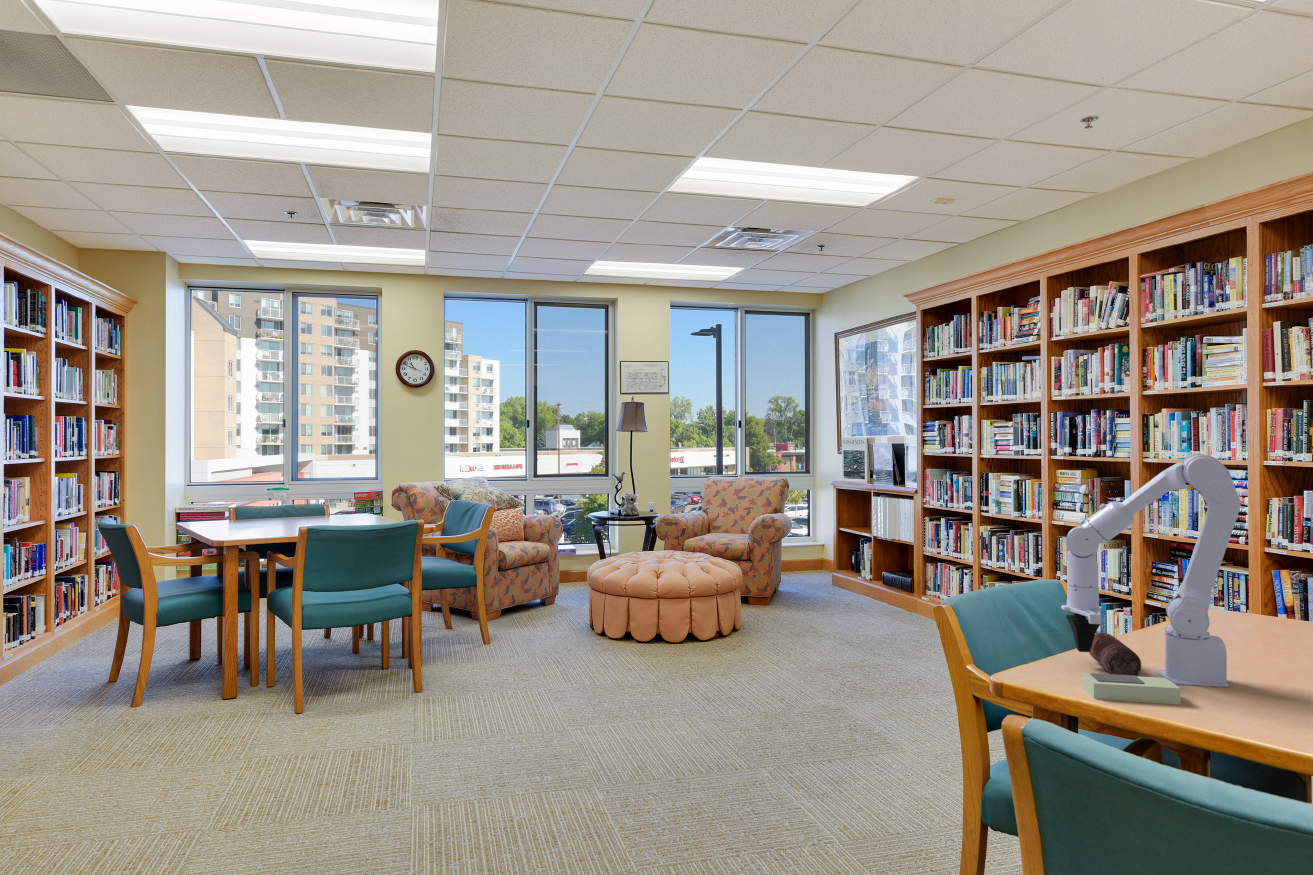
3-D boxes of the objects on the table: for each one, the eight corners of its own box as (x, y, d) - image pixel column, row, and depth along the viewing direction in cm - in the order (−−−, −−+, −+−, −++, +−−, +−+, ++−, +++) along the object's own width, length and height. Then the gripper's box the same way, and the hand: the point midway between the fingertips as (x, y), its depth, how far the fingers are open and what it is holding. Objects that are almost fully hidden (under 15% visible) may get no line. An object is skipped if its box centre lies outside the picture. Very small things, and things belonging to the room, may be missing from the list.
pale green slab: (1165, 693, 143) (1164, 676, 143) (1180, 705, 137) (1180, 686, 137) (1082, 688, 146) (1082, 671, 146) (1093, 700, 140) (1093, 682, 140)
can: (1150, 668, 150) (1125, 648, 163) (1125, 642, 151) (1102, 625, 164) (1125, 688, 151) (1102, 667, 164) (1100, 663, 152) (1079, 644, 165)
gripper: (1051, 578, 168) (1052, 641, 168) (1073, 591, 154) (1074, 660, 154) (1086, 579, 167) (1087, 642, 167) (1112, 592, 153) (1113, 661, 153)
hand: (1083, 651), depth 160 cm, fingers closed
